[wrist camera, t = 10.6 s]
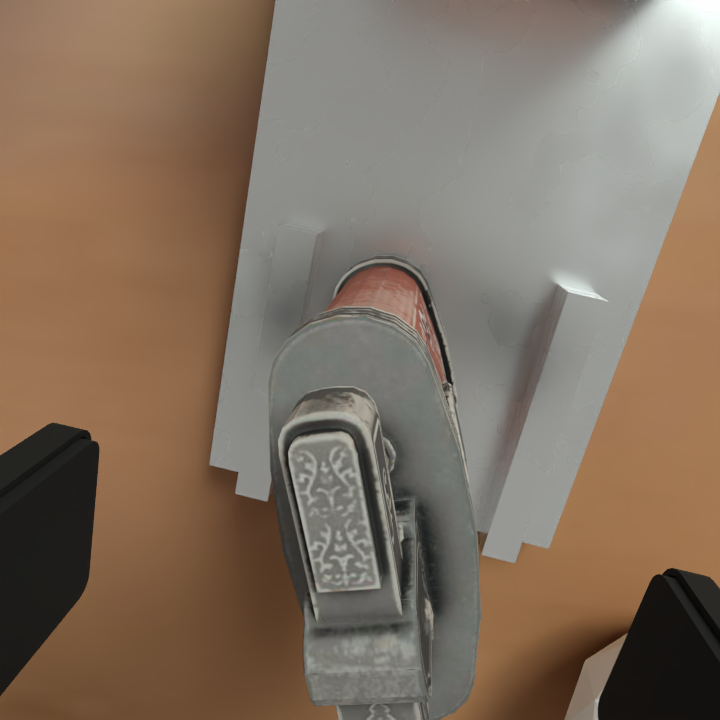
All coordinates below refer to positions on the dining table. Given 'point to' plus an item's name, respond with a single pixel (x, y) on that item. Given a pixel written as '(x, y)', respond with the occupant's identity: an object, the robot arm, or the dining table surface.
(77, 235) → the dining table surface
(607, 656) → the geometric ball
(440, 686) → the lighter
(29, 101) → the dining table surface
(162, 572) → the dining table surface
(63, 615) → the robot arm
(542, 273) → the finger rail
